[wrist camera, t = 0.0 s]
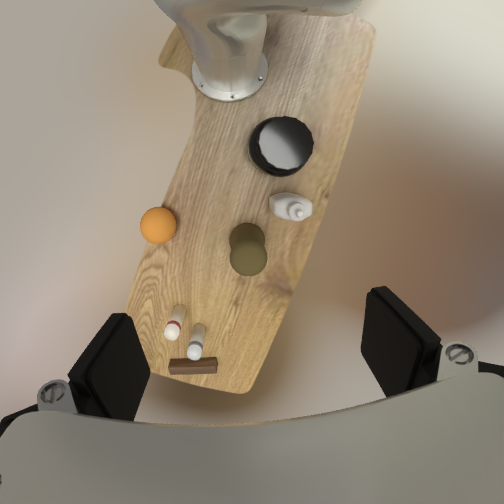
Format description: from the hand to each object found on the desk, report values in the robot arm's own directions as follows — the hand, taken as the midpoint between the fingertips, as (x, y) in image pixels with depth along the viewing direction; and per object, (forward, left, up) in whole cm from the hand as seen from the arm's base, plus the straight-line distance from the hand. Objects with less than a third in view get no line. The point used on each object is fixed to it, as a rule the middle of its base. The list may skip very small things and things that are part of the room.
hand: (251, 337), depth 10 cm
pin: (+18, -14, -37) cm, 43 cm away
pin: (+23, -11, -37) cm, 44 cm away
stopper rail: (+31, -14, -37) cm, 50 cm away
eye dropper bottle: (0, +7, -37) cm, 38 cm away
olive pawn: (+6, 0, -37) cm, 37 cm away
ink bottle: (-9, +6, -37) cm, 39 cm away
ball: (+1, -14, -34) cm, 37 cm away
